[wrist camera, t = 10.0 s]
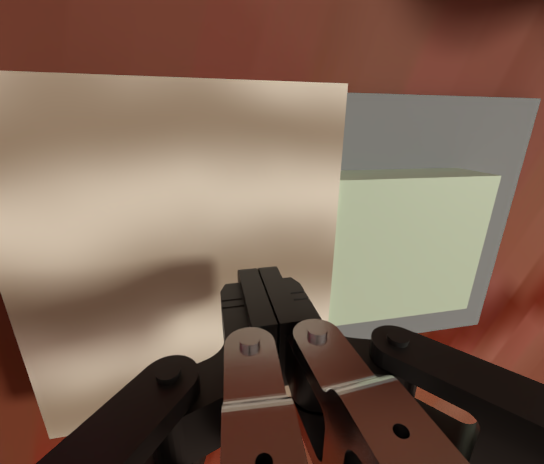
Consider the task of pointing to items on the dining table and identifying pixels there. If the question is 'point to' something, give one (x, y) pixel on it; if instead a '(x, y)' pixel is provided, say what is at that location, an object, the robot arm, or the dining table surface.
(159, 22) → the dining table surface
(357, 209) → the green tile
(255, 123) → the block
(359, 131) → the slate mat
